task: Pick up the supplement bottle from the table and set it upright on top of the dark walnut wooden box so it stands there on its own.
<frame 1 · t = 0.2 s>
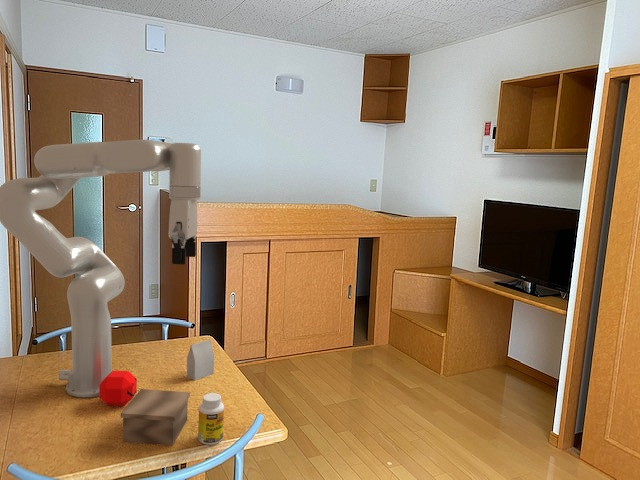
hand: (184, 260, 128), 36 cm above the table, tool pointing down, fingers open, 9 cm apart
supplement bottle: (210, 440, 113), on the table
walnut box: (156, 430, 116), on the table
white carton: (200, 375, 146), on the table
ball: (118, 403, 128), on the table
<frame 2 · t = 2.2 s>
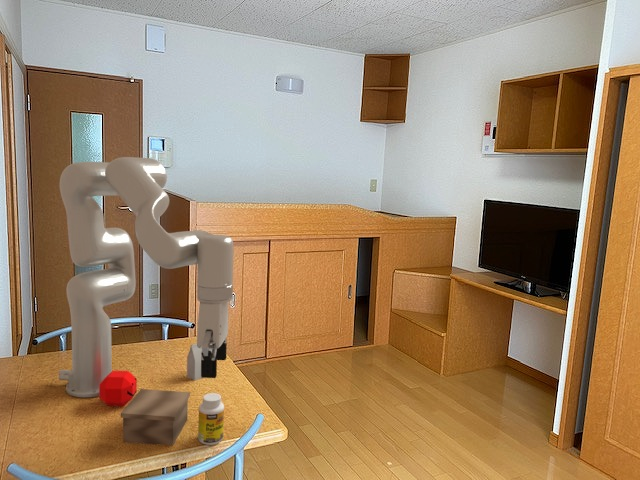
hand: (214, 368, 111), 17 cm above the table, tool pointing down, fingers open, 9 cm apart
nothing on the table moved.
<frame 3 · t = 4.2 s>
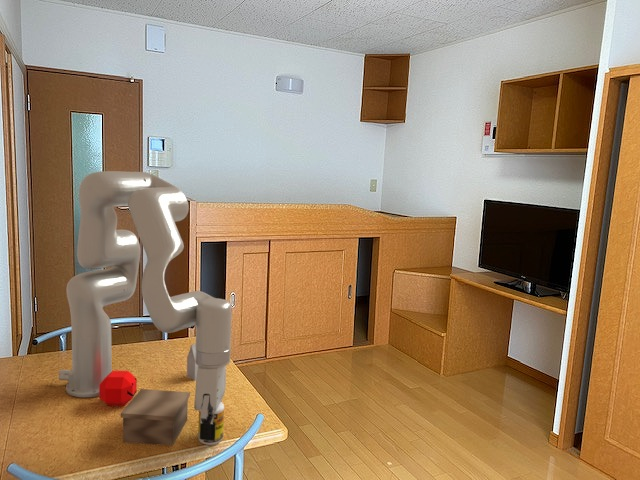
hand: (211, 430, 113), 2 cm above the table, tool pointing down, fingers closed on supplement bottle, 5 cm apart
supplement bottle: (210, 440, 113), on the table, touching gripper
everything else where it was.
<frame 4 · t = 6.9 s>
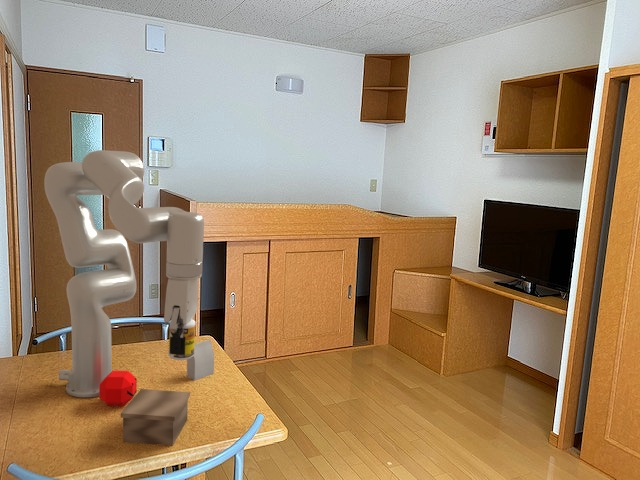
hand: (181, 347, 112), 21 cm above the table, tool pointing down, fingers closed on supplement bottle, 5 cm apart
supplement bottle: (181, 357, 112), point 18 cm above the table, touching gripper
everything else where it was.
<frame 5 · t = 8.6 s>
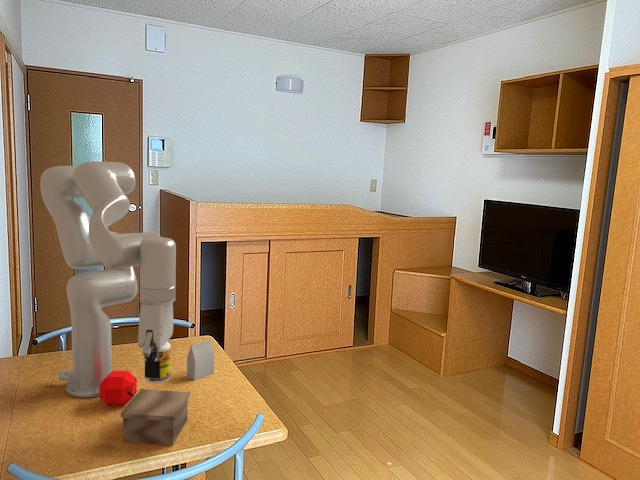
hand: (157, 370, 113), 15 cm above the table, tool pointing down, fingers closed on supplement bottle, 5 cm apart
supplement bottle: (157, 380, 114), point 12 cm above the table, touching gripper
everything else where it was.
when the fingers open (10 cm above the table, at t = 9.8 s): supplement bottle drops 1 cm, resting on walnut box.
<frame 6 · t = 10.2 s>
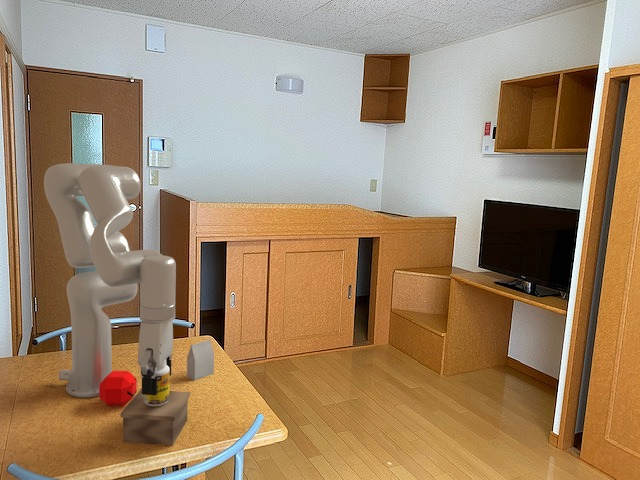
hand: (157, 384, 114), 11 cm above the table, tool pointing down, fingers open, 9 cm apart
supplement bottle: (156, 402, 115), point 7 cm above the table, touching walnut box
everything else where it was.
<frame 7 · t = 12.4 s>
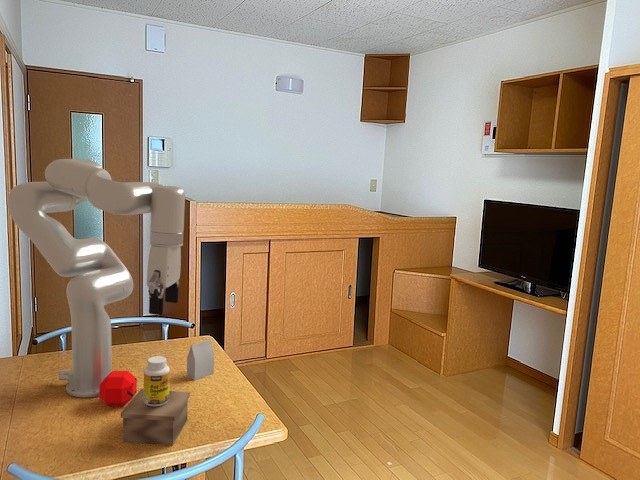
hand: (164, 307, 122), 26 cm above the table, tool pointing down, fingers open, 9 cm apart
nothing on the table moved.
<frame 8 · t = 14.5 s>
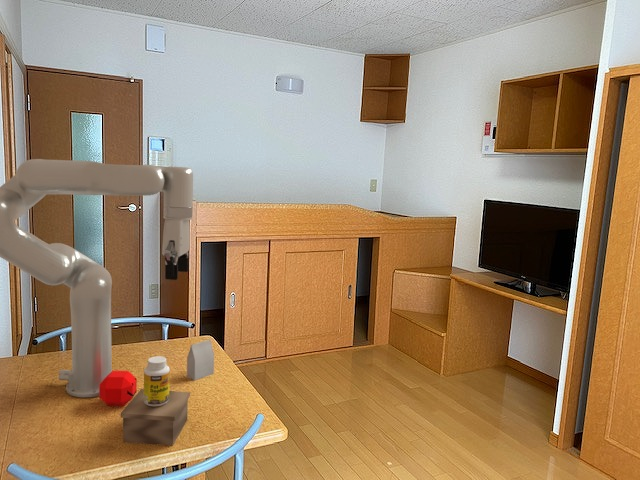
hand: (177, 275, 138), 30 cm above the table, tool pointing down, fingers open, 9 cm apart
nothing on the table moved.
at the end: supplement bottle 0.1 cm off-centre on the walnut box, point 6.8 cm above the walnut box's base; supplement bottle tilted 0°; the gripper is holding nothing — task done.
